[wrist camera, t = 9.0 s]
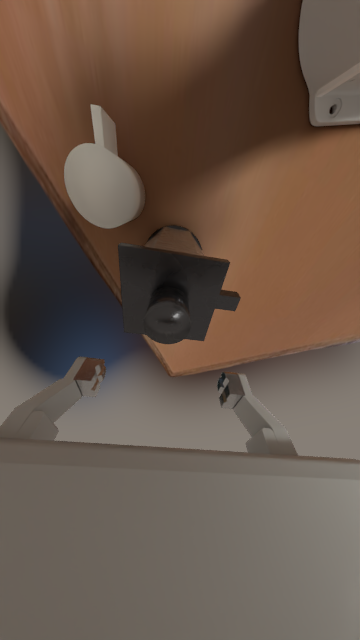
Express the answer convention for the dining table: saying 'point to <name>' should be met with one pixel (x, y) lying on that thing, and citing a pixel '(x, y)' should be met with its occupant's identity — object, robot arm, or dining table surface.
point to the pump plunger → (167, 316)
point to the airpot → (173, 278)
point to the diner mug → (103, 178)
